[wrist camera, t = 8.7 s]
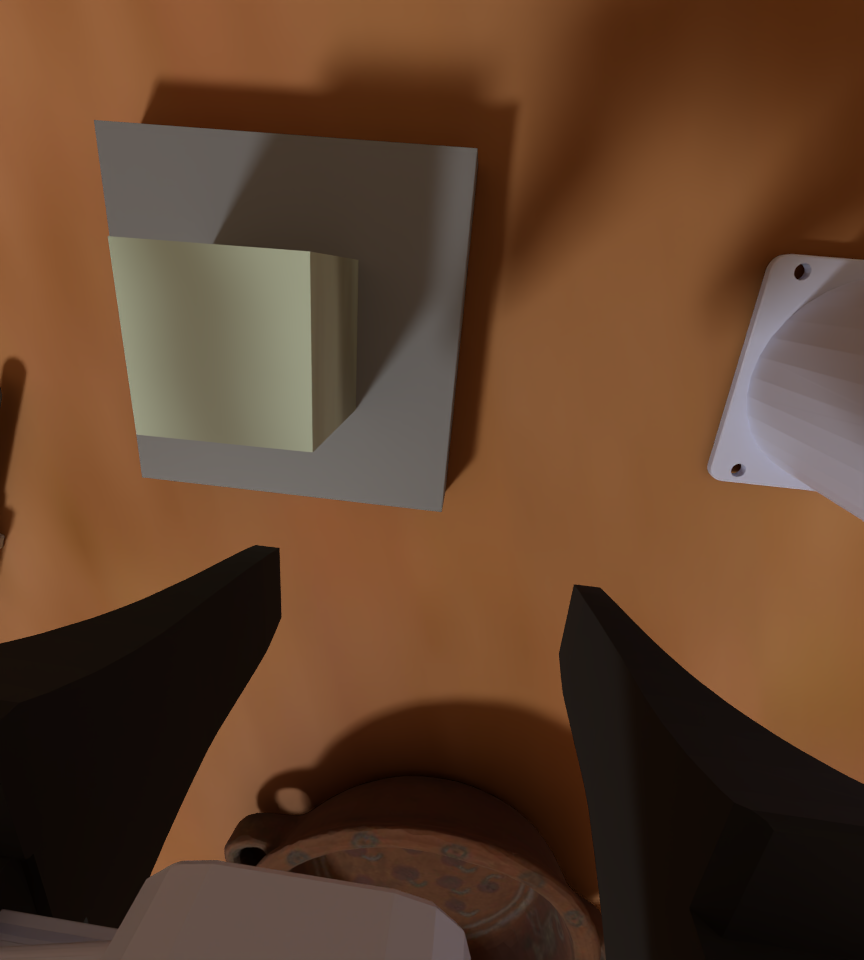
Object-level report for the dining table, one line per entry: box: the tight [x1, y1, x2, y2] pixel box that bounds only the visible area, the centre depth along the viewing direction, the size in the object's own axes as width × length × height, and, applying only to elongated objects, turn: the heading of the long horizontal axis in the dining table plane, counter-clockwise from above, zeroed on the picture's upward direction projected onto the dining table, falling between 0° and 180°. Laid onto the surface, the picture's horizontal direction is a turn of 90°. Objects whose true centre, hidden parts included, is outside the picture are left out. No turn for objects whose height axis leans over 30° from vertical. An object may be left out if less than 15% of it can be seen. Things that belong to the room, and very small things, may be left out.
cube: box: [108, 236, 358, 452], centre depth 15 cm, size 5×5×5 cm
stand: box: [94, 120, 478, 512], centre depth 19 cm, size 12×12×2 cm
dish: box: [225, 776, 606, 960], centre depth 28 cm, size 18×22×5 cm
